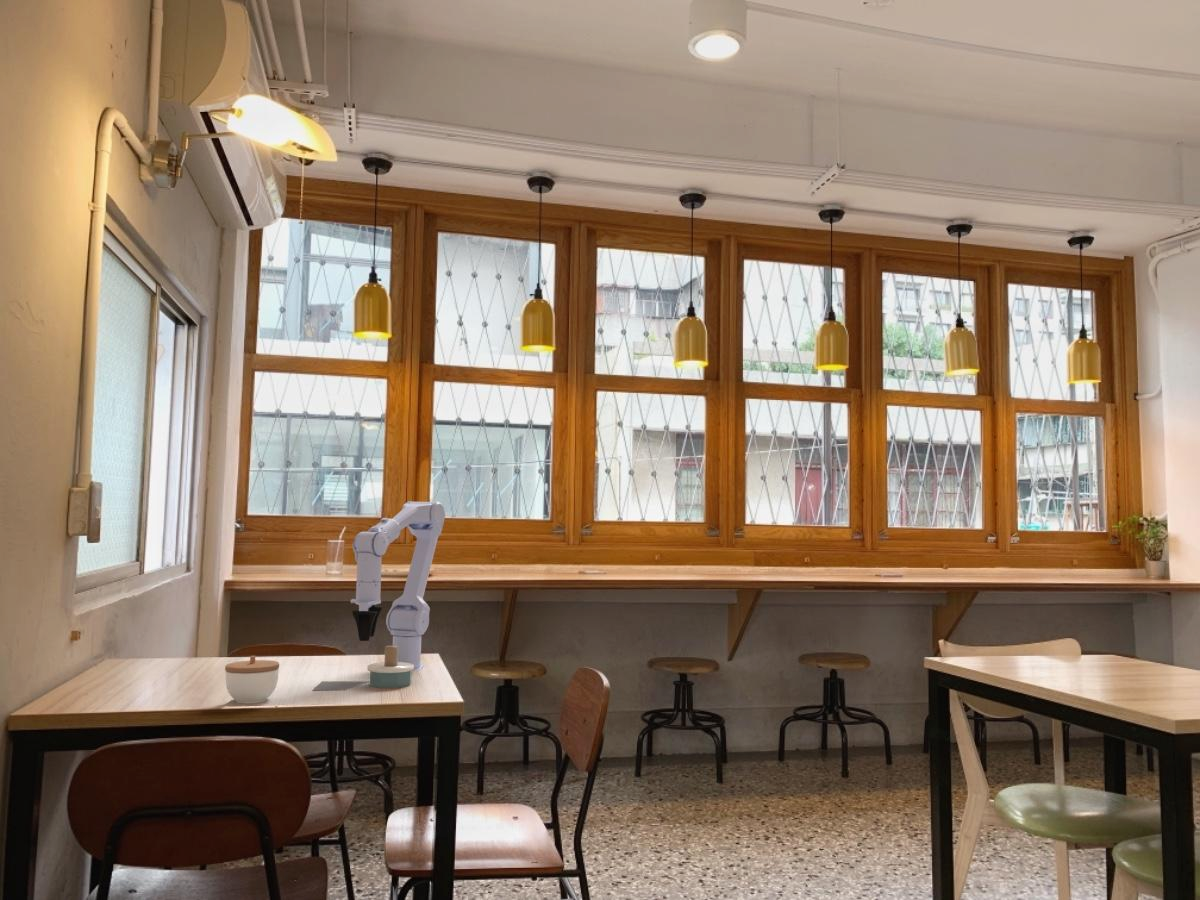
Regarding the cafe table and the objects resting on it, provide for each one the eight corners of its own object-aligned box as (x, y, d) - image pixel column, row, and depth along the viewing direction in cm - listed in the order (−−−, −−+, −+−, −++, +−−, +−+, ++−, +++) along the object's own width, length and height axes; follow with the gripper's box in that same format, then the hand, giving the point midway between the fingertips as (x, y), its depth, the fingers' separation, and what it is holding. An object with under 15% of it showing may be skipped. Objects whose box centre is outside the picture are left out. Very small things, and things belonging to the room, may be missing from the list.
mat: (321, 683, 214) (321, 681, 214) (369, 683, 215) (369, 681, 215) (311, 692, 203) (312, 690, 203) (362, 692, 204) (362, 690, 204)
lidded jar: (287, 696, 198) (288, 652, 198) (264, 706, 187) (265, 660, 188) (239, 695, 199) (241, 652, 199) (214, 705, 188) (215, 659, 189)
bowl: (373, 683, 215) (374, 665, 216) (412, 682, 216) (413, 665, 217) (368, 690, 206) (368, 672, 207) (408, 690, 207) (409, 672, 208)
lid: (370, 665, 216) (371, 643, 217) (415, 665, 217) (416, 643, 218) (364, 673, 206) (365, 649, 206) (411, 673, 207) (412, 649, 207)
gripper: (356, 579, 227) (354, 634, 226) (346, 583, 213) (344, 642, 212) (385, 579, 228) (383, 634, 227) (377, 584, 213) (375, 642, 212)
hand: (366, 638), depth 219 cm, fingers open, 7 cm apart
